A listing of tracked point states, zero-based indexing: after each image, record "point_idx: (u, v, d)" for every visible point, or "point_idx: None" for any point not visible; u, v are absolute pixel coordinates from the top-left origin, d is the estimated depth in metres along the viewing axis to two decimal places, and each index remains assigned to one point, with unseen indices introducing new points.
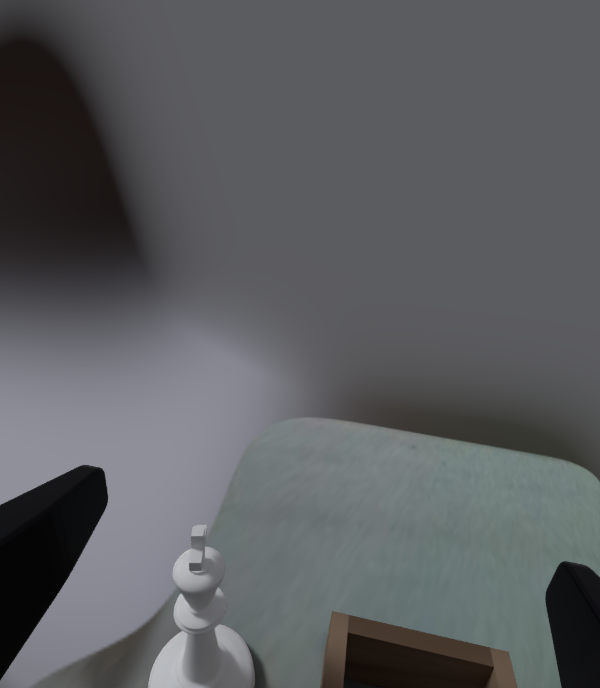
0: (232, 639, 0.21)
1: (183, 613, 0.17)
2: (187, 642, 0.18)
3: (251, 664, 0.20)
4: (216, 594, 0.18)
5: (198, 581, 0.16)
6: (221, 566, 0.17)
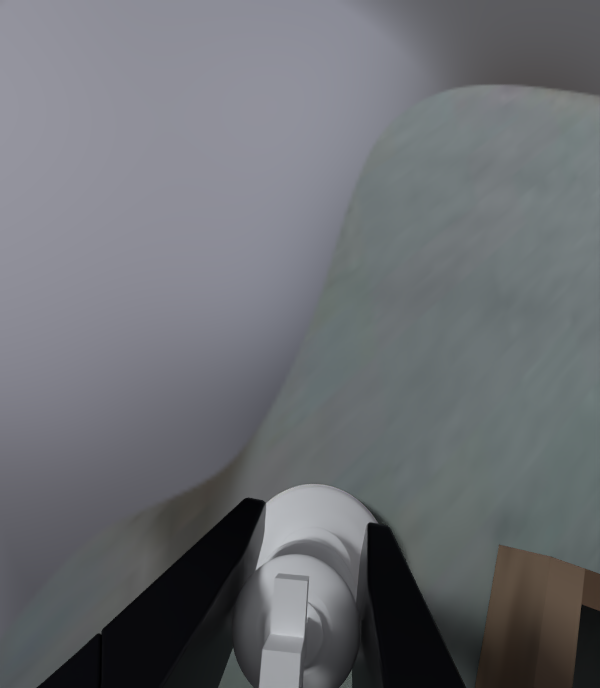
0: (356, 521, 0.13)
1: None
2: None
3: None
4: None
5: None
6: (351, 637, 0.06)
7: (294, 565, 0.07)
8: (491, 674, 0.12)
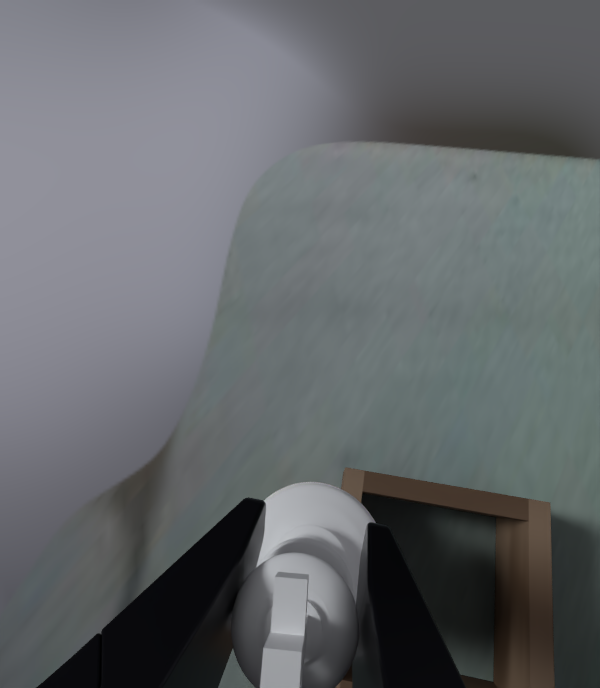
0: (353, 519, 0.14)
1: None
2: None
3: None
4: None
5: None
6: (350, 635, 0.06)
7: (293, 563, 0.07)
8: None
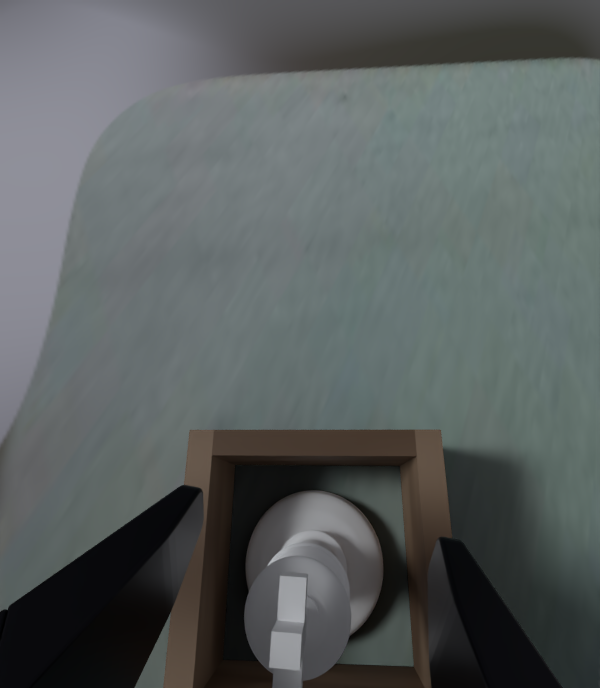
0: (351, 524, 0.15)
1: None
2: None
3: (379, 559, 0.15)
4: None
5: None
6: (344, 624, 0.08)
7: (295, 565, 0.08)
8: None
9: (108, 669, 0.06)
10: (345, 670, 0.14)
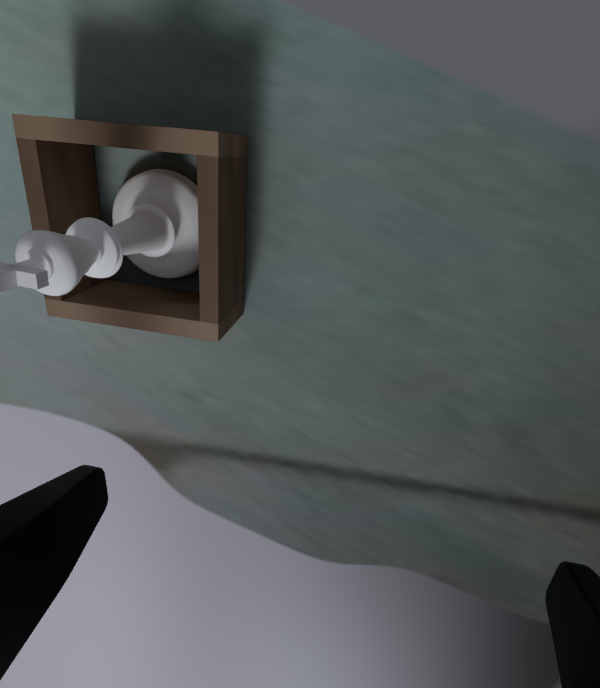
0: (127, 194, 0.19)
1: (101, 269, 0.15)
2: (131, 253, 0.17)
3: (151, 173, 0.18)
4: (78, 230, 0.15)
5: (62, 267, 0.13)
6: (39, 236, 0.12)
7: (17, 262, 0.13)
8: None
9: None
10: None
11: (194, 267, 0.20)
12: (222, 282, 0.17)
